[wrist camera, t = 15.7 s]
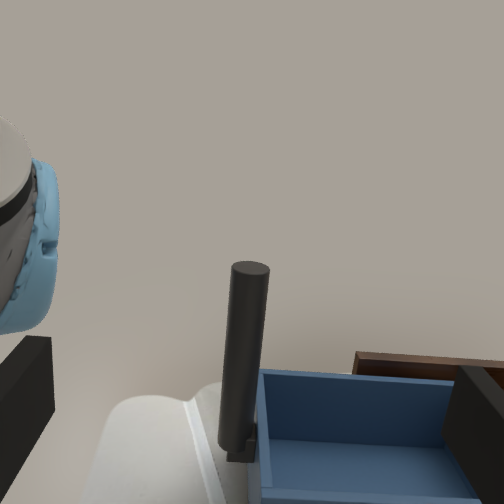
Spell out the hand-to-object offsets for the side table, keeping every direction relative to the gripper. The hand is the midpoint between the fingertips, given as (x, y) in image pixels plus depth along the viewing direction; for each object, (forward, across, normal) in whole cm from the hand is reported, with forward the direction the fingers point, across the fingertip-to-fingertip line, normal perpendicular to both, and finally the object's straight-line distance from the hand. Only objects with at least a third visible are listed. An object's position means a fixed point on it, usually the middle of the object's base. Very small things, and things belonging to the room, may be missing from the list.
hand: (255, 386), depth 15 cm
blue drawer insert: (+10, +8, -15) cm, 19 cm away
